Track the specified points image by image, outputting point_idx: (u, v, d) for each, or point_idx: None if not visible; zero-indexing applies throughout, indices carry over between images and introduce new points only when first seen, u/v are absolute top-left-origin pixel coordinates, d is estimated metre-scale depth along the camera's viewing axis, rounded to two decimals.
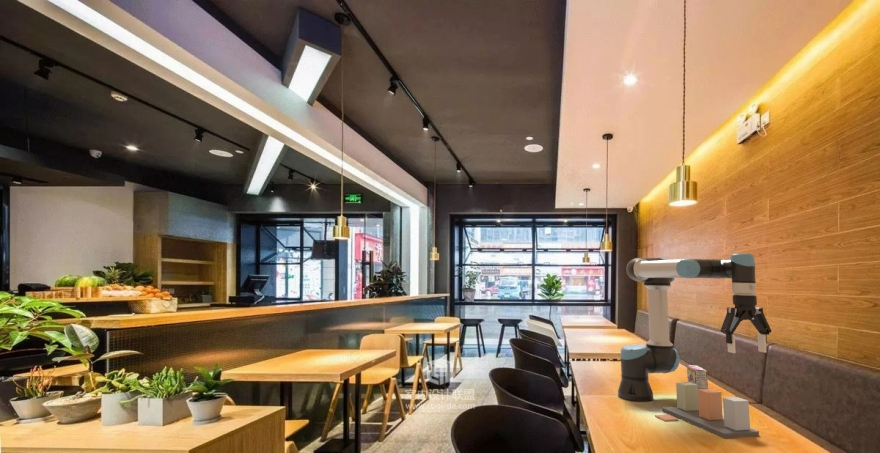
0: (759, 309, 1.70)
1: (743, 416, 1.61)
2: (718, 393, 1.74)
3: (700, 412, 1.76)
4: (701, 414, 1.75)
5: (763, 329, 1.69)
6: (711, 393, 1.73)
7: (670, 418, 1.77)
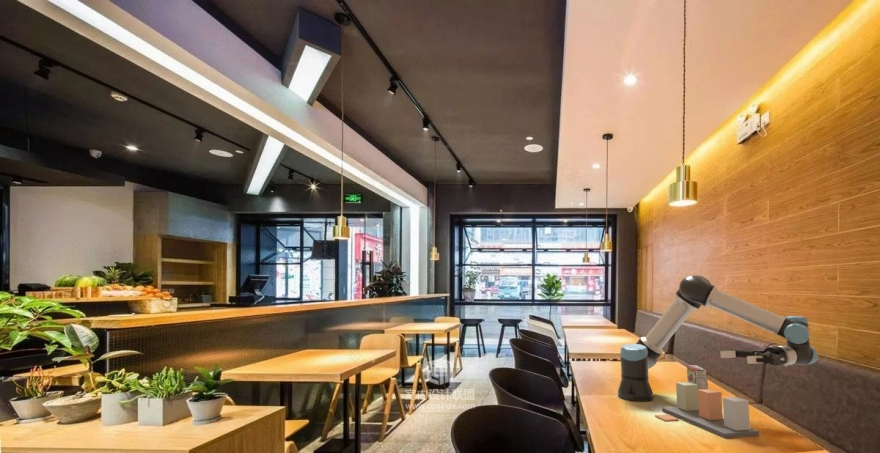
0: (755, 355, 1.88)
1: (743, 416, 1.61)
2: (718, 393, 1.74)
3: (700, 412, 1.76)
4: (701, 414, 1.75)
5: (739, 356, 1.87)
6: (711, 393, 1.73)
7: (670, 418, 1.77)
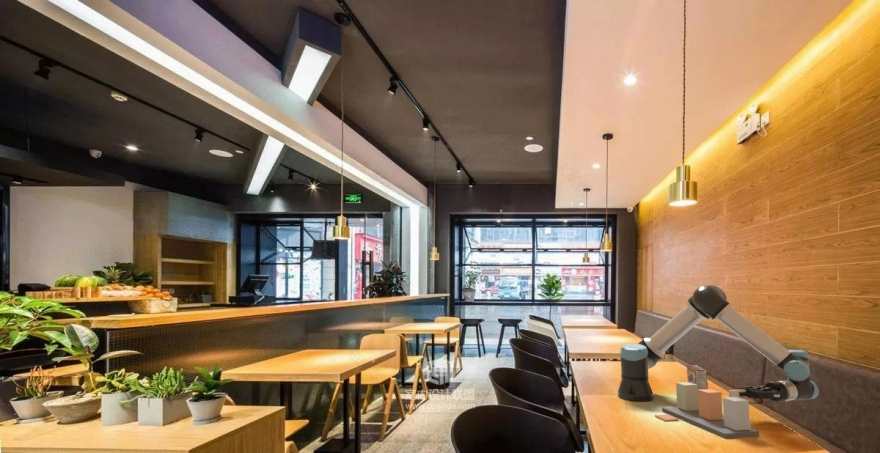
0: None
1: (743, 416, 1.61)
2: (718, 393, 1.74)
3: (700, 412, 1.76)
4: (701, 414, 1.75)
5: None
6: (711, 393, 1.73)
7: (670, 418, 1.77)
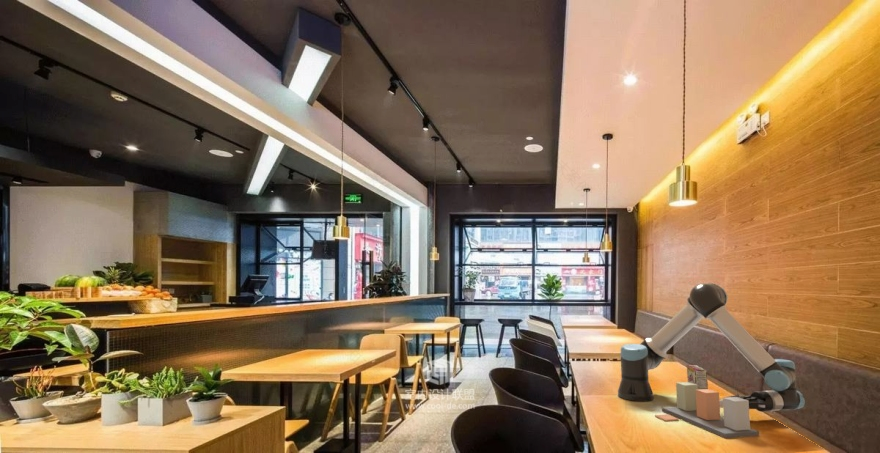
0: None
1: (743, 416, 1.61)
2: (716, 393, 1.73)
3: (698, 412, 1.76)
4: (699, 415, 1.75)
5: None
6: (709, 393, 1.73)
7: (670, 418, 1.77)
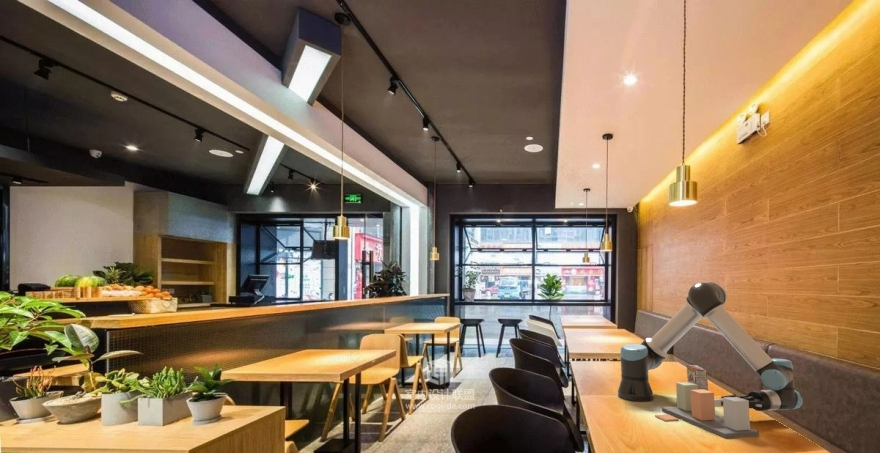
0: None
1: (743, 416, 1.61)
2: (711, 393, 1.73)
3: (693, 412, 1.75)
4: (694, 415, 1.75)
5: None
6: (703, 393, 1.72)
7: (670, 418, 1.77)
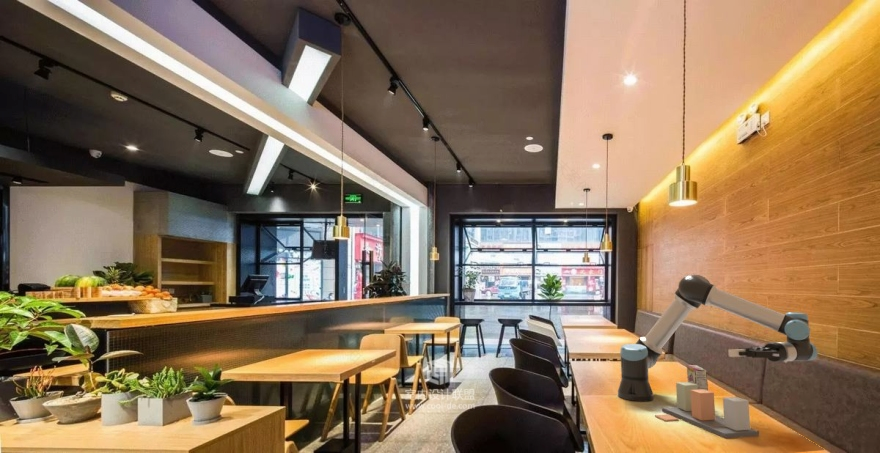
0: None
1: (743, 416, 1.61)
2: (711, 393, 1.73)
3: (693, 412, 1.75)
4: (694, 415, 1.75)
5: None
6: (703, 393, 1.72)
7: (670, 418, 1.77)
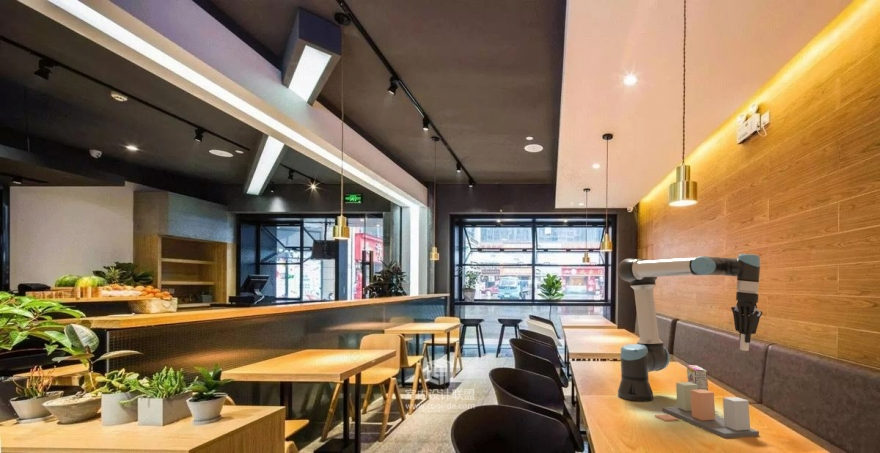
0: None
1: (743, 416, 1.61)
2: (711, 393, 1.73)
3: (693, 412, 1.75)
4: (694, 415, 1.75)
5: None
6: (703, 393, 1.72)
7: (670, 418, 1.77)
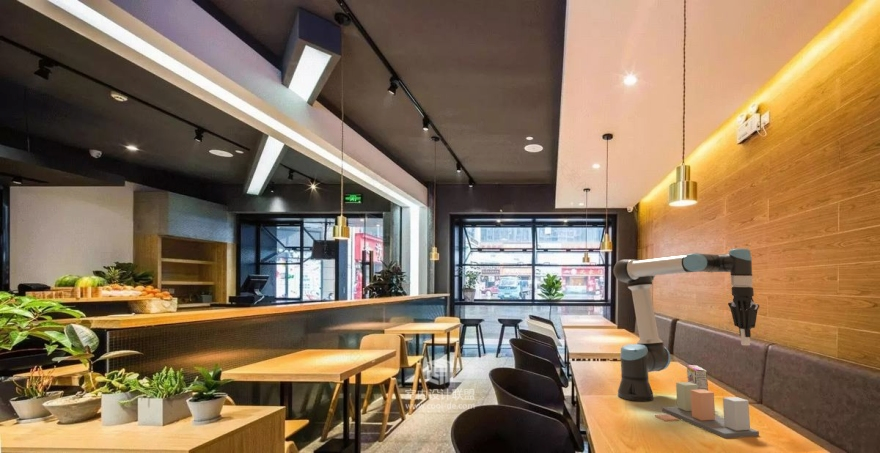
0: None
1: (743, 416, 1.61)
2: (711, 393, 1.73)
3: (693, 412, 1.75)
4: (694, 415, 1.75)
5: None
6: (703, 393, 1.72)
7: (670, 418, 1.77)
